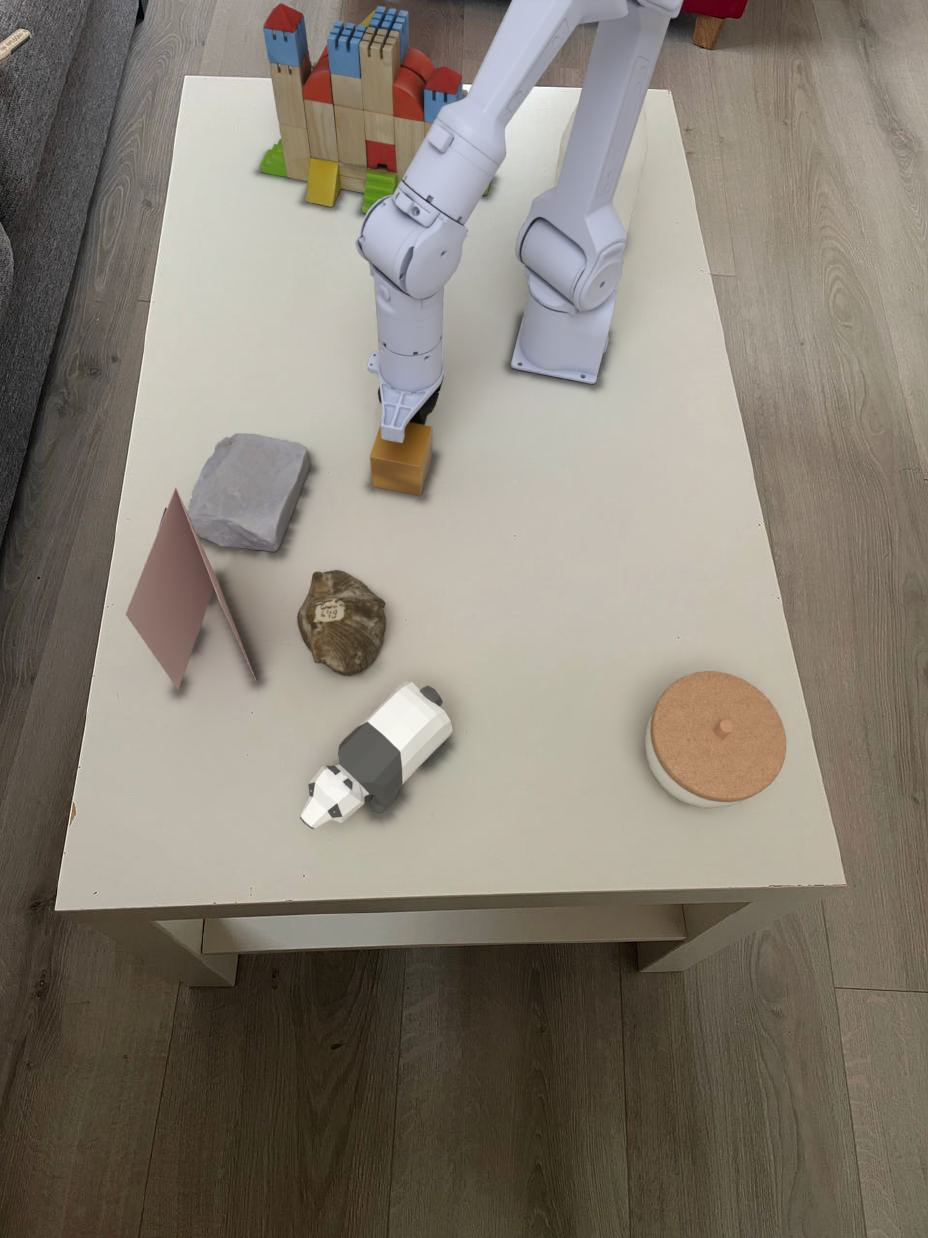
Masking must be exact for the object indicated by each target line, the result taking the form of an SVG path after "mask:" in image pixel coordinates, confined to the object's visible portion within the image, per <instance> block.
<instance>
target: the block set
mask: <svg viewBox="0 0 928 1238" xmlns="http://www.w3.org/2000/svg"><path fill="white" fill-rule="evenodd" d="M397 13H398V15H397ZM409 28H410V26H409V11H408V10H403V9H399V12H398V11H397V8H389V9H388V11H387V9H386V6H382V5H379V6H377V7H376V9H374V10H373V11H372V12H371V13H370V14H368V16H366V17H365V18H364V19H363V21H362V22H360V24H358V25H357V26H356V24H355V23H352V22H347V23H346V24H345V23H344V21H340V20H336V21H334V23H333V27H331V29H330V32H329V33H328V35H327V37H326V45H325V47H324V48H323V50H322V52H321V54H320V56H319V58H318V60H317V61H314V62H313V63H312V60H311V57H310V50H309V44H308V37H307V29H306V21H305V16H304V13H303V12H301V11H299V10H296V9H294V8H292V7H290V6H289V5H287V4H284V3H279V4H277V5H275V6H274V7H273V8H272V10H271V12H270V14H269V15H268V16H267V18H266V20H265V22H264V24H263V28H262V30H263V36H264V42H265V48H266V55H267V60H268V67H269V73H270V79H271V85H272V90H273V91H272V92H273V97H274V104H275V111H276V116H277V121H278V128H279V134H280V135H279V136H280V138H279V139H278V142H277V143H274V144H273V146H272V148H269V149H267V150H266V152H265V154H264V156H263V159H262V161H261V163H260V165H259V171H260V172H261V173H263V174H268V175H272V176H279V177H284V178H288V179H291V180H297V181H302V182H307V186H306V193H305V194H306V195H305V202H307V203H310V204H314V205H320V206H324V207H329V208H331V207H333V206H334V205H335V203H336V200H337V198H338V196H339V193H340V191H341V189H342V190H347V191H352V192H356V193H357V192H358V193H362V194H363V195H362V197H363V198H362V199H363V202H362V205H361V213H363V214H366V213H367V212H368V210H369V209H370V208H371V207H372V205H373V204H374V203H375V202H377V201H378V200H379V199H381V198H383V197H385V196H388V195H393V194H394V192H395V190H396V189H397V187H398V185H399V183H400V181H401V180H402V178H403V176H404V174H405V173H406V171H407V169H408V167H409V165H410V164H411V162H412V160H413V158H414V156H415V155H416V153H417V151H418V149H419V148H420V146H421V144H422V142H423V140H424V139H425V137H426V135H427V133H428V131H429V130H430V128H431V126H432V124H433V122H434V120H435V119H436V118H437V115H438V113H439V111H440V110H441V108H442V107H443V106H445V105H448V104H451V103H454V102H457V101H460V100H462V99H464V98H465V97H466V96H467V94H468V92H469V90H467V89H464V88H463V87H464V77H463V75H462V74H461V73H459V72H458V71H456V70H454V69H452V68H450V67H448V66H446V65H442V66H439V67H437V68H436V67H435V65H434V63H433V62H432V60H431V59H430V58H429V57H428V56H427V55H426V54H425V53H423V52H422V51H420V50H419V49H416V48H414V47H410V31H409V30H410V29H409ZM491 183H492V181H491V182H490V184H489V185H488V187H487V189H486V190H485V192H484V193H483V195H484V196H487V195H488V192H489V190H490V186H491ZM483 195H482V196H483Z"/></svg>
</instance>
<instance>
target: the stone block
mask: <svg viewBox="0 0 928 1238" xmlns="http://www.w3.org/2000/svg"><path fill="white" fill-rule="evenodd" d="M310 467H311V456H310V452H309V450H308V448H307V447H306V446H305V445H304V444H302V443H299V442H296V441H291V440H287V439H280V438H275V437H271V436H266V435H262V434H257V433H247V432H243V433H242V432H237V433H236V432H235V433H234V434H232V435H231V436H230V437H229V436H226V437H224V438H222V439H221V440H220V441H218V442H217V443H216V444H215V446H214V450H213V453H212V455H211V456H209V458H207V460H206V461H205V463H204V465H203V467H202V468H201V470H200V473H199V475H198V479H197V480H196V482H195V484H194V485H193V488H192V491H191V498H190V499H189V504H188V507H187V510H186V511H187V513H188V515H189V517H190V520H191V522H192V524H193V526H194V529H195V531H196V533H197V535H198V537H200V538H202V539H204V540H208V541H209V542H211V543H213V544H215V545H217V546H219V547H223V548H241V549H248V550H253V551H255V550H258V551H266V552H272V553H273V552H276V551H278V550H279V548H280V547H281V545H282V542H283V540H284V537H285V535H286V532H287V529H288V526H289V524H290V521H291V518H292V516H293V513H294V511H295V507H296V505H297V503H298V500H299V497H300V494H301V492H302V488H303V487H304V485H305V484H304V483H305V481H306V479H307V477H308V473H309V471H310Z"/></svg>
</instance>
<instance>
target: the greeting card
mask: <svg viewBox="0 0 928 1238" xmlns="http://www.w3.org/2000/svg"><path fill="white" fill-rule="evenodd" d="M187 511H188V510H187V508H186V506H185V504H184V501H183V499H182V497H181V495H180V493H179V490H178V488H177V487H176V486H175V487H174V489H173V493H172V495H171V497H170V500H169V502H168V504H167V506H166V507H164V510H163V513H162V516H161V520H160V523H159V525H158V529H157V531H156V535H155V538H154V541H153V543H152V546H151V547H150V551H149V552H148V555H147V558H146V561H145V563H144V566H143V568H142V570H141V573H140V576H139V578H138V580H137V583H136V585H135V587H134V588H135V589H134V591H133V593H132V596H131V599H130V601H129V602H128V605H127V609H126V611H125V613H124V615H125V616H126V618H127V619H128V620H129V622H130V623H131V625H132V626H133V627H134V629H135V630H136V631H137V634H138V635H139V636H140V638H141V639H142V641H143V642H144V644H145V645H146V646H147V648H148V649H149V650H150V652H151V654H152V655H153V657H155V659H156V661H157V662H158V664H159V665H160V666H161V668H162V669H163V670H164V672H165V674H166V675H167V677H168V678H169V679H170V681H171V682H172V683H173V685H174V686H175V688H176V689H177V690H178V691H179V689H180V687H181V685H182V681H183V678H184V677H185V676H184V675H185V674H186V673H185V672H186V669H187V667H188V664H189V661H190V659H191V656H192V652H193V650H194V646H195V643H196V641H197V638H198V635H199V632H200V630H201V627H202V624H203V621H204V618H205V615H206V612H207V610H208V606H209V603H210V601H211V598H212V595H213V592H214V591H215V594H216V596H217V599H218V601H219V604H220V607H221V608H222V610H223V613H224V615H225V617H226V619H227V621H228V623H229V625H230V628H231V631H232V632H233V635H234V636H235V638H236V641H237V643H238V645H239V647H240V649H241V652H242V654H243V656H244V658H245V661H247V664H248V667H249V669H250V671H251V673H252V675H253V677H254V679H255V682H256V683H257V682H258V681H257V678H256V676H255V673H254V671H253V668H252V665H251V662H250V660H249V657H248V654H247V652H246V650H245V648H244V647H245V646H244V645H243V643H242V640H241V637H240V634H239V632H238V629H237V626H236V624H235V621H234V619H233V616H232V614H231V611H230V609H229V606H228V604H227V601H226V599H225V595H224V594H223V591H222V589H221V585H220V583H219V581H218V578H217V576H216V573H215V572H214V569H213V567H212V565H211V562H210V560H209V558H208V555H207V554H206V550H205V549H204V546H203V544H202V543H201V540H200V538H199V535H198V533H197V532H196V531H195V529H194V526H193V524H192V522H191V520H190V517H189V515H188V513H187Z"/></svg>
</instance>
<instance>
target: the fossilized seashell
mask: <svg viewBox="0 0 928 1238" xmlns="http://www.w3.org/2000/svg"><path fill="white" fill-rule="evenodd" d="M385 606H386V602H385V600H384V599H382V598H381V597H379V596H377V595H376V594H375V593H374V592H373V591H372V590H371V589H370V588H369V587H368V585H366V584H365V583H364V582H363V581H362V580H360V579H358V578H357V577H355V576H352V574H350V573H348V572H346V571H343V570H339V569H333V570H328V571H324V572H321V571H315V572H313V573H312V575H311V582H310V587H309V589H308V593H307V595H306V597H305V599H304V601H303V603H302V605H301V607H300V608H299V610H298V612H297V616H296V618H297V626H298V630H299V632H300V637H301V638H302V641H303V643H304V644H305V647H307V649H308V650H309V651H310V653H312V659H313V662H314V663H315V664H321V665H324V666H325V667H327V668H329V669H331V670H332V672H334V673H336V674H338V675H341V676H343V677H353V676H355V675H357V674H360V673H363V672H364V671H366V670H367V669H368V668H369V667H370V666H371V665H372V664H373V663H374V662H375V660H376V658H377V657H378V655H379V653H380V650H381V648H382V646H383V645H384V644H383V643H384V638H385V637H384V636H385V633H386V629H387V627H386V626H387V618H386V613H385Z"/></svg>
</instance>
